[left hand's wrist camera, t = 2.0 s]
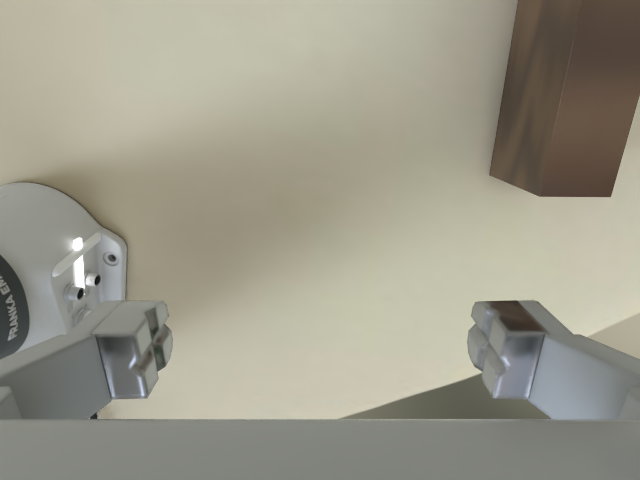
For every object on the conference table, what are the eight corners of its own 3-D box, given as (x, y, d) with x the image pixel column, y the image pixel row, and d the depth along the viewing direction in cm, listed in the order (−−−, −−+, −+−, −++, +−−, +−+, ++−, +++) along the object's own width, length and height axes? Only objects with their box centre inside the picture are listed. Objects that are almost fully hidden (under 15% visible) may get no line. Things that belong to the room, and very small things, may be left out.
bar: (545, 175, 40) (611, 197, 31) (489, 175, 39) (539, 196, 31) (603, -92, 32) (714, -167, 23) (533, -93, 32) (617, -169, 23)
